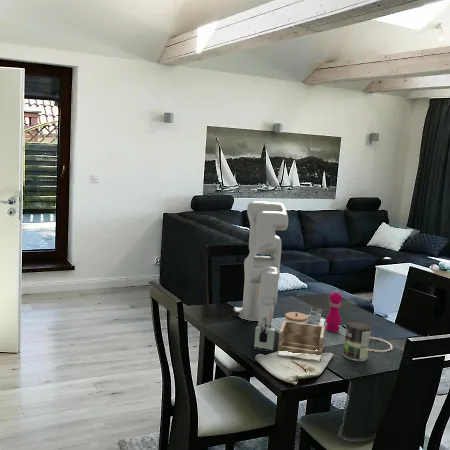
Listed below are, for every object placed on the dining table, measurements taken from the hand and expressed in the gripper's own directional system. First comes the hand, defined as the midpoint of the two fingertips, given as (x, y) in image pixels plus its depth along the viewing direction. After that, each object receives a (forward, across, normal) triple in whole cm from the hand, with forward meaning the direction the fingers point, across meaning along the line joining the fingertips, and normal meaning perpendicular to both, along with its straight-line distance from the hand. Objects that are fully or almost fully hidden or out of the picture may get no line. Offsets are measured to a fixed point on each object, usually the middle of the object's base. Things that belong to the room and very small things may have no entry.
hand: (264, 338), depth 235 cm
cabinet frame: (+5, -3, +15) cm, 16 cm away
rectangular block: (+5, 0, 0) cm, 5 cm away
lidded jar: (+4, -28, +10) cm, 30 cm away
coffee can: (+5, -8, +38) cm, 39 cm away
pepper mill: (+4, -38, +27) cm, 47 cm away
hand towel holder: (+5, -26, +45) cm, 52 cm away
